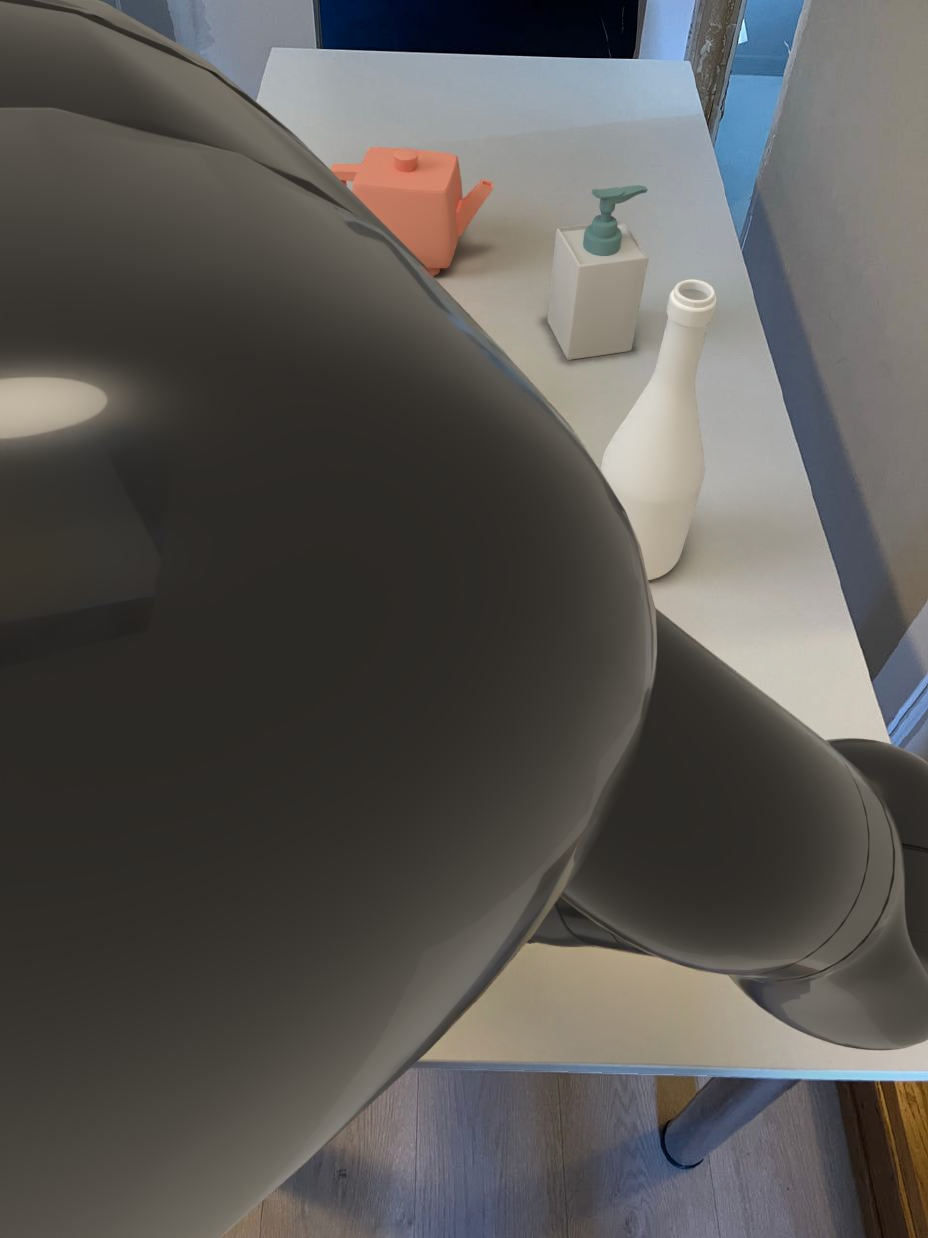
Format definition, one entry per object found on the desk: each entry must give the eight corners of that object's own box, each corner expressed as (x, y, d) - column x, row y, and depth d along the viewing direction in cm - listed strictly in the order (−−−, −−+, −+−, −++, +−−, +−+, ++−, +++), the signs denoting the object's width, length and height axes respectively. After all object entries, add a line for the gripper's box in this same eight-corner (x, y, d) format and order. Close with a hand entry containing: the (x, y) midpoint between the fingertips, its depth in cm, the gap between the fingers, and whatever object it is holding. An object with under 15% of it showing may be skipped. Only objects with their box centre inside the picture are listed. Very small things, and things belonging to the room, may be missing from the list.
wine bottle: (688, 583, 91) (772, 324, 68) (595, 587, 91) (646, 327, 67) (668, 515, 97) (739, 255, 74) (581, 519, 97) (623, 258, 73)
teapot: (496, 238, 131) (500, 137, 120) (484, 287, 123) (487, 183, 112) (347, 224, 133) (337, 123, 122) (326, 272, 125) (314, 168, 114)
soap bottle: (633, 351, 115) (661, 204, 100) (567, 360, 114) (585, 213, 98) (610, 312, 120) (633, 167, 105) (546, 321, 119) (561, 175, 104)
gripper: (558, 706, 48) (381, 726, 61) (414, 942, 40) (246, 907, 53) (634, 799, 51) (449, 799, 64) (512, 1037, 43) (329, 982, 56)
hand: (357, 849), depth 58 cm, fingers closed on supplement bottle, 5 cm apart
